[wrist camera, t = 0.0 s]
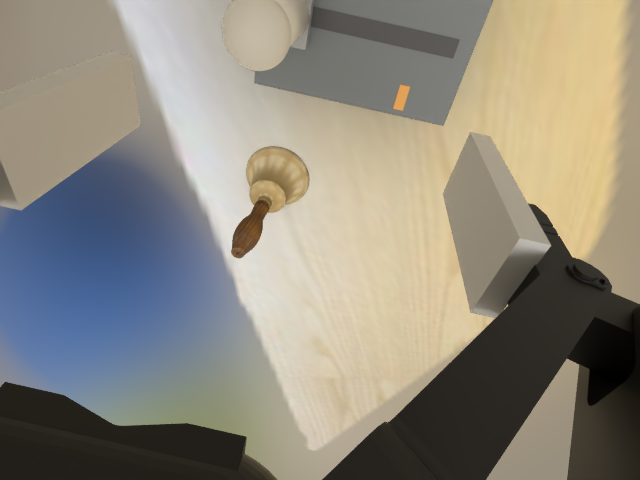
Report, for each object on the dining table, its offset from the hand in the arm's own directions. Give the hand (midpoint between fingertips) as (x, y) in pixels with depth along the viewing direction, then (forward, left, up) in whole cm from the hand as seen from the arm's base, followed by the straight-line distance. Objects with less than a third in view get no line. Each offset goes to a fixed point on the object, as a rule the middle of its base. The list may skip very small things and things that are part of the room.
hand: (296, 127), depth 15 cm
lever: (0, -5, -25) cm, 25 cm away
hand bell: (+19, -5, -28) cm, 34 cm away
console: (0, +2, -28) cm, 28 cm away
